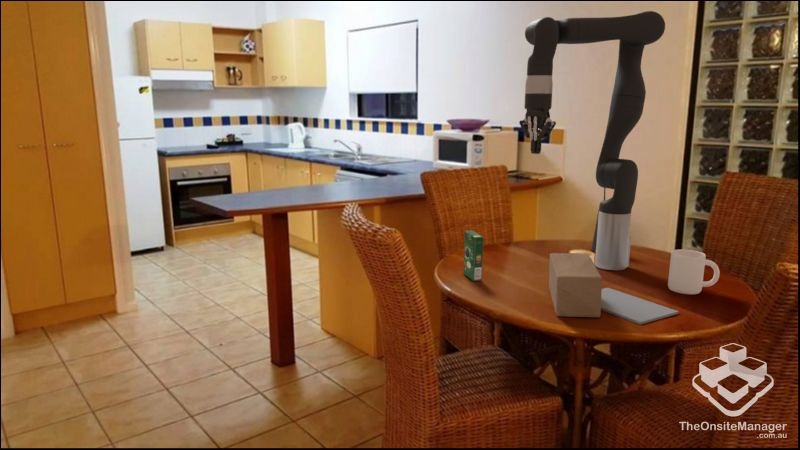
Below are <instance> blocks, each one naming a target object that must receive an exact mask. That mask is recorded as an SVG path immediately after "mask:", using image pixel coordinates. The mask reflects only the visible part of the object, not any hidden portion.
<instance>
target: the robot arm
mask: <svg viewBox="0 0 800 450" xmlns="http://www.w3.org/2000/svg"><path fill="white" fill-rule="evenodd" d="M665 22H666V21H665V19H664V17H663V16H662V15H661V14H660V13H658V12H657V11H653V10H646V11H643V12H642V11H641V12H639V13H636V14H629V15H623V16H621V15H620V16H611V17H609V16H608V17H568V18H563V19H557V20H556V19H554V18H553V17H550V16H545V17H541V18H538V19H535V20H533V21H531V22H530V23H528V25H527V26H526V28H525V31H524V36H525V37H524V38H525V40H526V41H527V43H529V44H530V45H532V46H533V48H532V53H531V55H530V56H529V57H528V59H527V66H526V80H525V89H524V90H525V91H524V92H525V93H524V109H525V110H526V113H525V115H524V117H525V118H524V119H523V120H520V121H519V122H518V124H519V125H520V128H521V130H522V132H523V134H524V137H525V138H526V139H529V140H530V153H531V154H534V155H539V154H541V151H542V143H543V140H546V139H548V138H549V136H550V134H551V133H552V131H553V130H554V128H555V126H556V124H557V122H556V121H554V120H552V119H551V114H550V110H551V109H552V105H553V102H552V100H553V86H554V84H553V71H554V68H553V67H554V65H553V64H554V58H555V54H556V51H557V47H558V45H580V44H581V45H583V44H592V43H593V44H594V43H601V42H607V41H618V40H619V44H618V57H617V58H618V59H617V66H616V72H615V77H614V84H613V91H612V95H611V100H610V106H609V112H608V114H609V115H608V119H607V124H606V130H605V133H604V134H605V135H604V139H603V142H602V146H601V151H600V154H599V157H598V160H597V164H596V169H595V170H596V171H595V180H596V183H597V185H598V186H599V187H601V188H603V189H604V188H606V189H611V190H613V194H612V197H611V198H609V199H605V200H604V199H603V200H602V201H600V202H599V204H598V206H599V207H598V211H599V217H598V230H597V243H596V252H595V257H594V265H595V266H596V268H599V269H602V270H609V271H623V270H626V269H627V268H628V267H629V265H630V264H629V263H630V255H631V254H630V252H631V241H632V236H630V231H631V223H632V221H631V220H632V209H633V206H634V204H635V200H636V194H637V193H636V192H637V187H638V186H637V185H638V179H639V169H638V166H637V164H636V162H635V161H633V160H632V159H627V158H620V154H621V149H622V147H623V144H624V142H625V140H626V139H627V137H628V136H629V134H630V133H631V132H632V131H633V129H634V128H635V127H636V126H637V124H638V123H639V121H640V119H641V118H642V115H643V112H644V106H645V100H646V85H645V80H644V77H643V73H642V58H643V54H644V50H645V46H648V45H651V44H654V43H656V42H657V41H658V40H660V39H662V36H663V35H664V33H665V30H666V23H665Z"/></svg>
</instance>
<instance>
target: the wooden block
mask: <svg viewBox="0 0 800 450" xmlns="http://www.w3.org/2000/svg"><path fill="white" fill-rule="evenodd" d="M592 259H593V258H592V257H591V256H590V254H589V253H585V252H581V253H579V252H578V253H576V252H574V253H573V252H572V253H570V252H567V253H566V252H565V253H563V252H561V253H559V252H551V253H550V254H549V270H548V272H549V274H548V289H549V291H550V296H551V300H552V304H553V307H554V311H555V314H556V315H555V316H557V317H568V318H569V317H570V318H571V317H572V318H576V317H577V318H600V317H601V314H602V313H601V312H602V310H601V291H602V289H603V287H602V286H603V285H602V284H603V277H602V276H601V274H600V272H599V271H598V269H597V268H598V267H596V266H595V262H594V261H593V260H592Z"/></svg>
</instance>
